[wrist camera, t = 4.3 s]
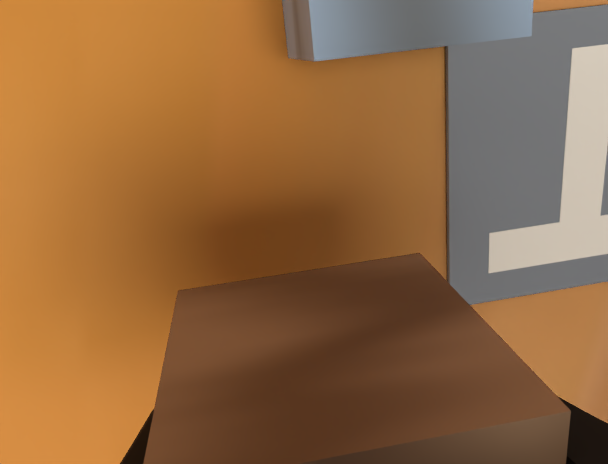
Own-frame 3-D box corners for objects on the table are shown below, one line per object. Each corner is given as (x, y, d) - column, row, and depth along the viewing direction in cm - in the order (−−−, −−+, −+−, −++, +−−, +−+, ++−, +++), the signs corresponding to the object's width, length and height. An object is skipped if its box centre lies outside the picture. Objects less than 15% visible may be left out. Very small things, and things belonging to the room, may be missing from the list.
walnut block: (419, 253, 11) (570, 410, 6) (424, 441, 12) (544, 679, 8) (177, 290, 10) (136, 494, 5) (218, 482, 12) (213, 760, 7)
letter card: (734, -10, 17) (740, -11, 17) (687, 265, 20) (691, 267, 20) (445, 23, 16) (448, 22, 16) (447, 305, 19) (450, 308, 19)
